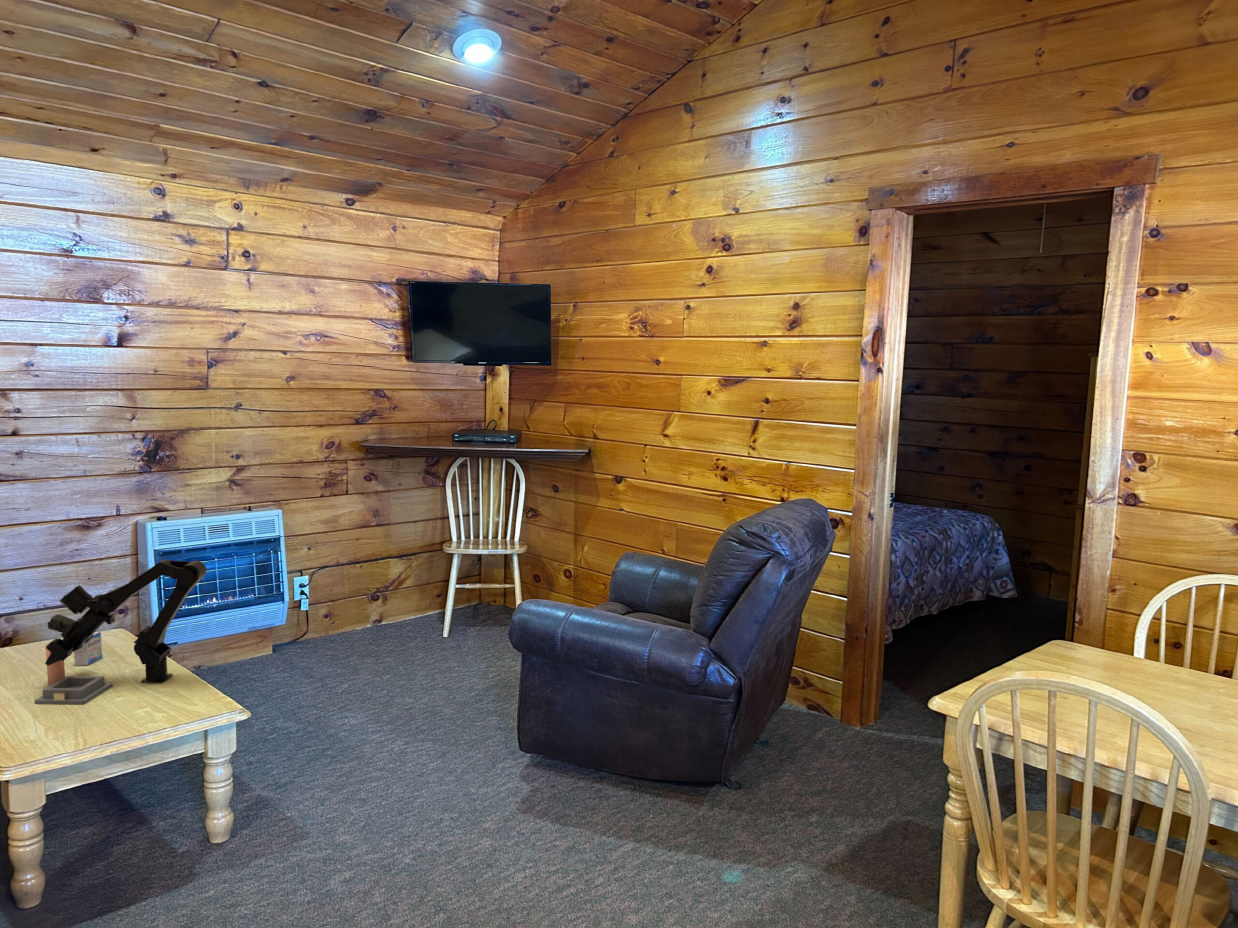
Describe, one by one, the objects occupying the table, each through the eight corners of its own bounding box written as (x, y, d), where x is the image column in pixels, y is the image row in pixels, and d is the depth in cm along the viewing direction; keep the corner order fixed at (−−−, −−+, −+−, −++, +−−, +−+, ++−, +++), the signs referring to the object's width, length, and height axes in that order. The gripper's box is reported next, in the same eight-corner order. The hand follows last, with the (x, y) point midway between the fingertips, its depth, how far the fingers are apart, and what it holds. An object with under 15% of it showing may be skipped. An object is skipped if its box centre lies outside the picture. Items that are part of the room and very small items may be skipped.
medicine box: (87, 665, 280) (86, 639, 279) (74, 665, 280) (72, 638, 279) (102, 657, 288) (101, 631, 287) (89, 657, 288) (87, 631, 287)
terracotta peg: (54, 680, 267) (51, 641, 266) (68, 680, 267) (66, 641, 266) (44, 685, 263) (42, 646, 262) (59, 685, 263) (56, 646, 262)
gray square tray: (65, 685, 263) (65, 674, 263) (112, 685, 263) (112, 674, 263) (34, 703, 249) (33, 691, 249) (84, 704, 249) (83, 692, 249)
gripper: (79, 597, 272) (42, 634, 272) (51, 615, 254) (11, 654, 253) (109, 621, 274) (72, 657, 274) (83, 640, 256) (43, 679, 256)
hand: (50, 661), depth 264 cm, fingers closed on terracotta peg, 4 cm apart
